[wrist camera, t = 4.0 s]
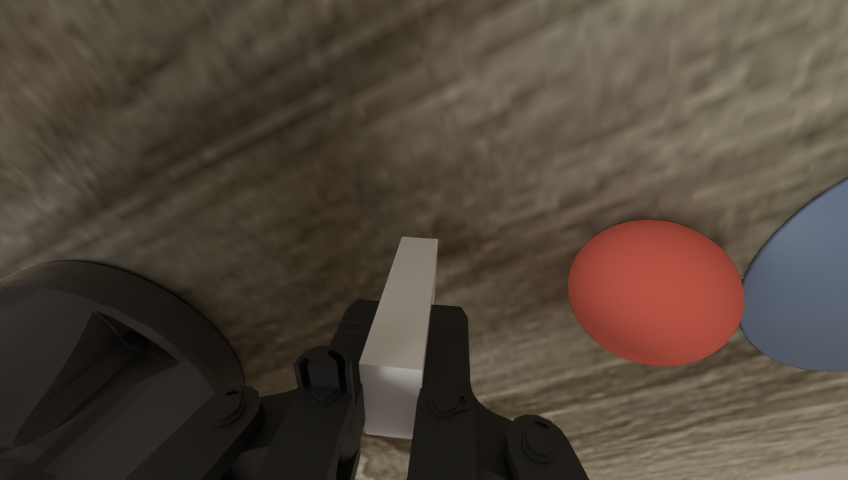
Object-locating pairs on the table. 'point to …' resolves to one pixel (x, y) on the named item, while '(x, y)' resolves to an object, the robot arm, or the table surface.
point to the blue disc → (803, 287)
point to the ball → (656, 293)
